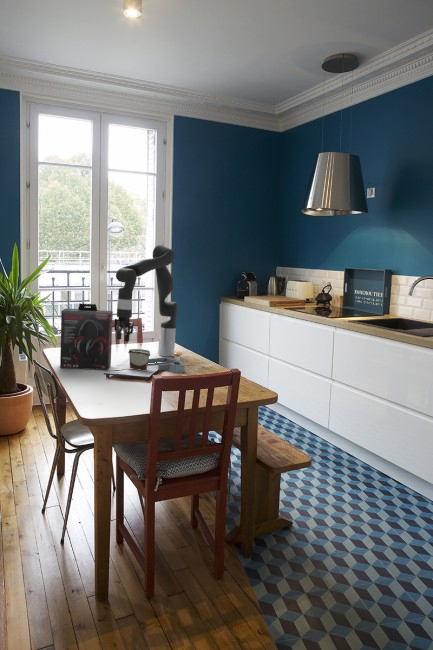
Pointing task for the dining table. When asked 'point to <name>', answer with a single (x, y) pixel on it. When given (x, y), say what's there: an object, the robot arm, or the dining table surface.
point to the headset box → (86, 338)
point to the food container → (139, 358)
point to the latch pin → (177, 357)
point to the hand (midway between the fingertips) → (122, 340)
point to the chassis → (168, 364)
